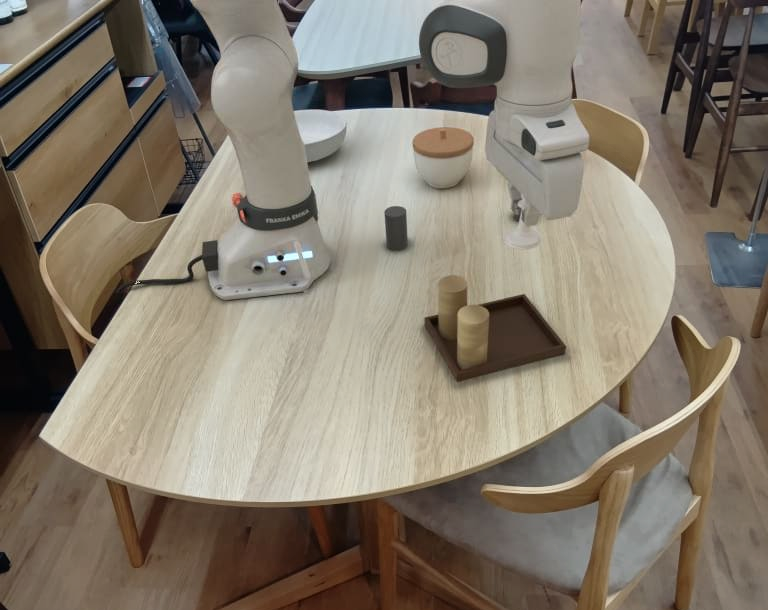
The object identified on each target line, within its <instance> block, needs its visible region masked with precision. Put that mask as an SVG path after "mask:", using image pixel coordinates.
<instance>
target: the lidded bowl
mask: <svg viewBox="0 0 768 610" xmlns="http://www.w3.org/2000/svg"><path fill="white" fill-rule="evenodd" d="M474 139H475V138H474V136H473V134H471V133H470V132H469V131H467V130H465V129H462V128H458V127H450V126H441V127H433V128H429V129H426V130H422V131H420V132H419V133H417V134H416V135H415V136H414V137H413V139H412V142H411V143H412V150H413V160H414V165H415V168H416V171H417V173H418V175H419V176H420V178H422V179H423V181H425V182H426V185H428V186H430V187H432V188H435V189H448V188H452V187H455V186H457V185H458V184H459V183H460V182H461V180H463V178H464V177H465V176H466V175H467V173H468V172H469V169H470V167H471V165H472V159H473V151H474V143H475V142H474V141H475V140H474Z"/></svg>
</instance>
